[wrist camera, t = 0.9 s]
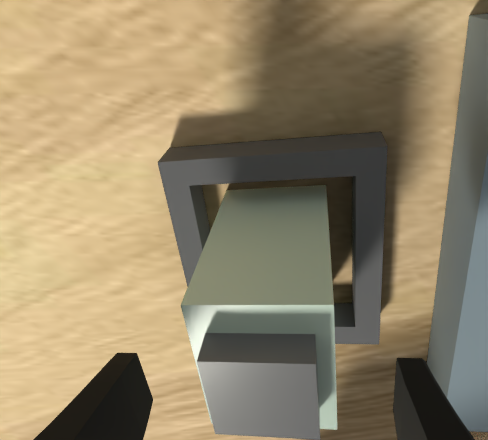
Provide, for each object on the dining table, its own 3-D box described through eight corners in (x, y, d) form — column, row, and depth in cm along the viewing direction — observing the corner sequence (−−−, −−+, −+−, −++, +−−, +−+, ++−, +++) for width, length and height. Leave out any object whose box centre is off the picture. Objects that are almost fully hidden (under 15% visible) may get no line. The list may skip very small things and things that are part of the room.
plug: (329, 285, 19) (339, 461, 12) (242, 286, 20) (204, 453, 13) (326, 184, 16) (335, 334, 10) (226, 190, 17) (169, 332, 10)
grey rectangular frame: (374, 319, 19) (379, 344, 18) (207, 319, 21) (200, 341, 20) (380, 131, 15) (387, 146, 14) (169, 147, 17) (157, 162, 15)
